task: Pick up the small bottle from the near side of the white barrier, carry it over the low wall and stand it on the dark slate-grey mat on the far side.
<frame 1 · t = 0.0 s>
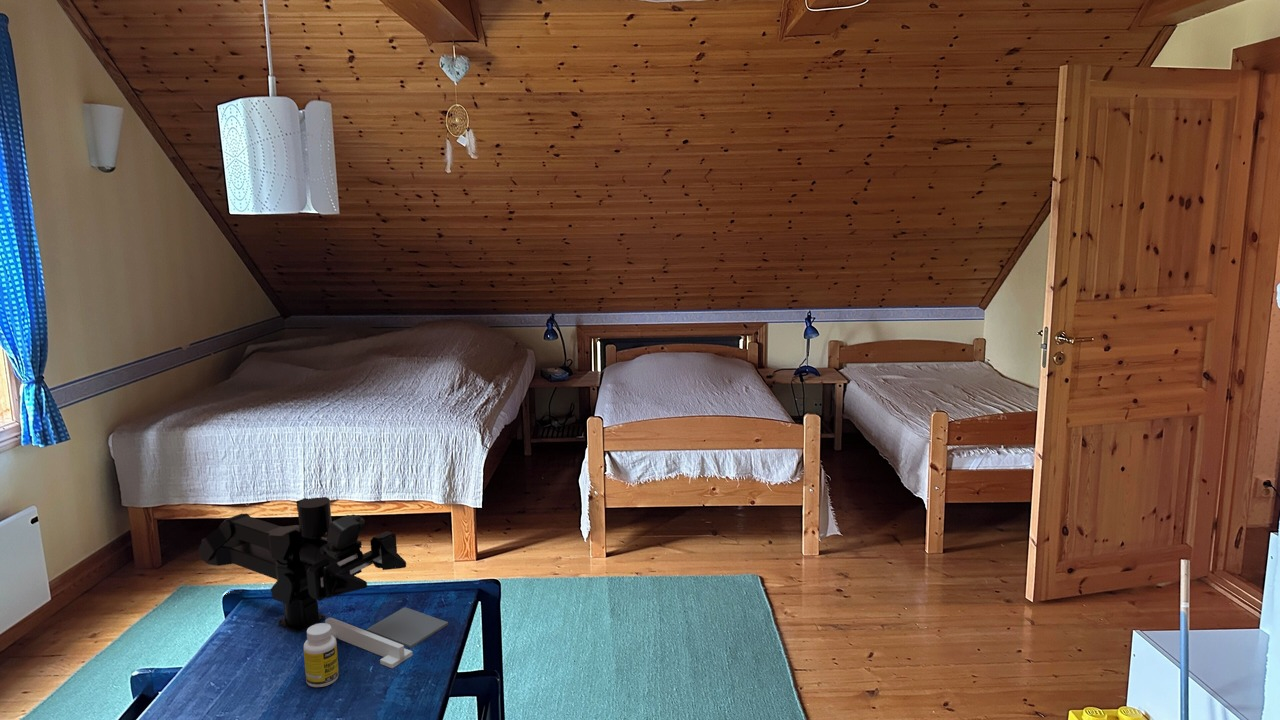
hand: (386, 574, 147), 17 cm above the table, tool horizontal, fingers open, 9 cm apart
slate mat: (407, 627, 161), on the table
white barrier: (364, 646, 154), on the table
supplement bottle: (323, 680, 144), on the table
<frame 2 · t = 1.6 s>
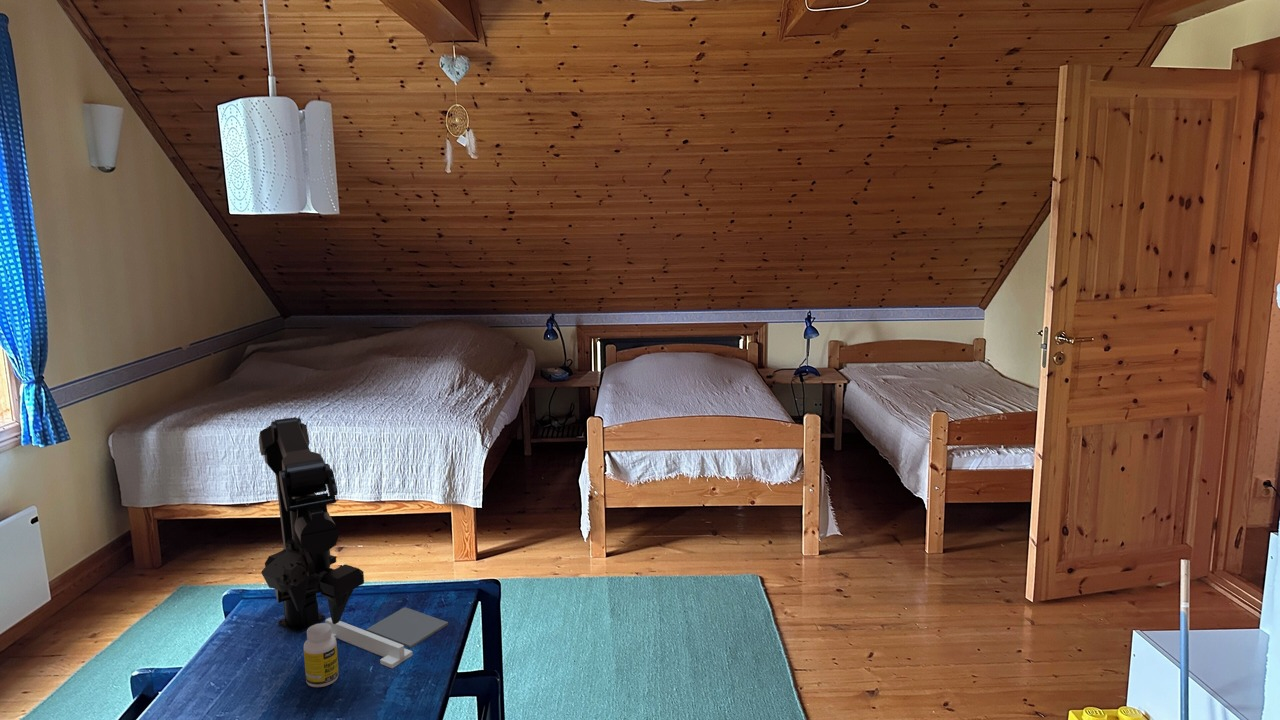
hand: (317, 616, 142), 12 cm above the table, tool pointing down, fingers open, 9 cm apart
nothing on the table moved.
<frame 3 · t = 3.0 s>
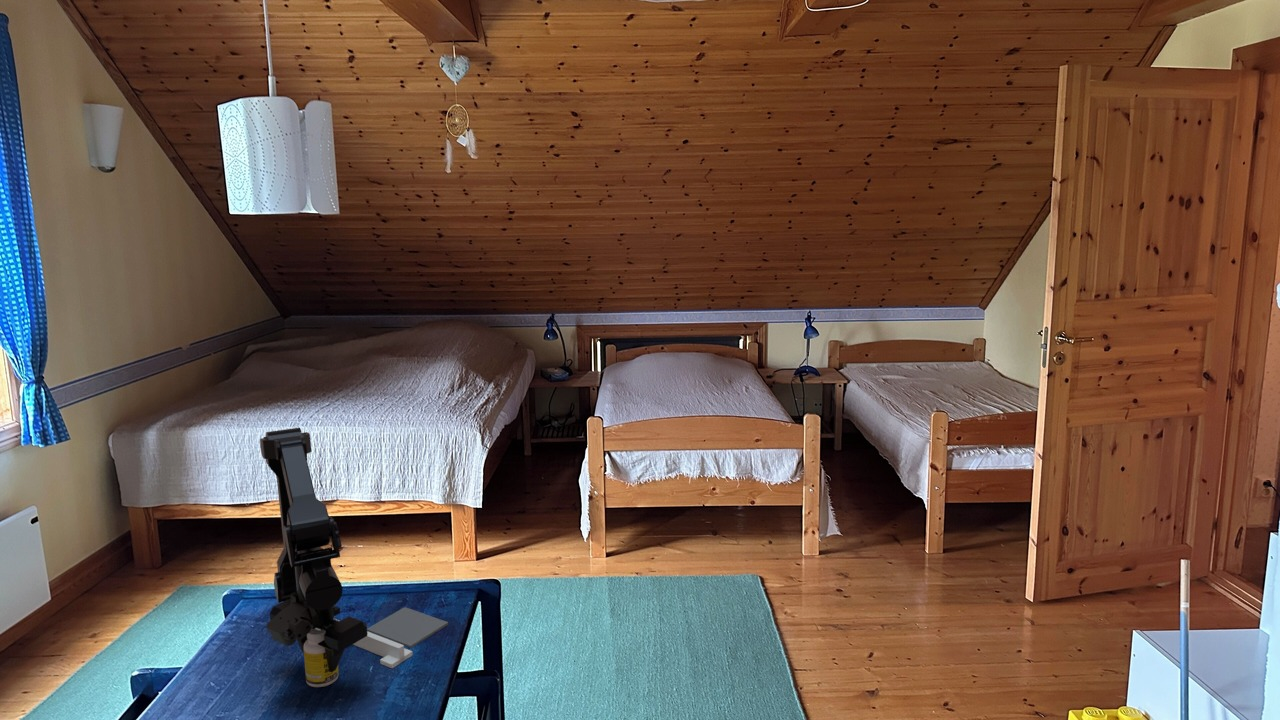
hand: (321, 666, 144), 3 cm above the table, tool pointing down, fingers closed on supplement bottle, 5 cm apart
supplement bottle: (323, 680, 144), on the table, touching gripper
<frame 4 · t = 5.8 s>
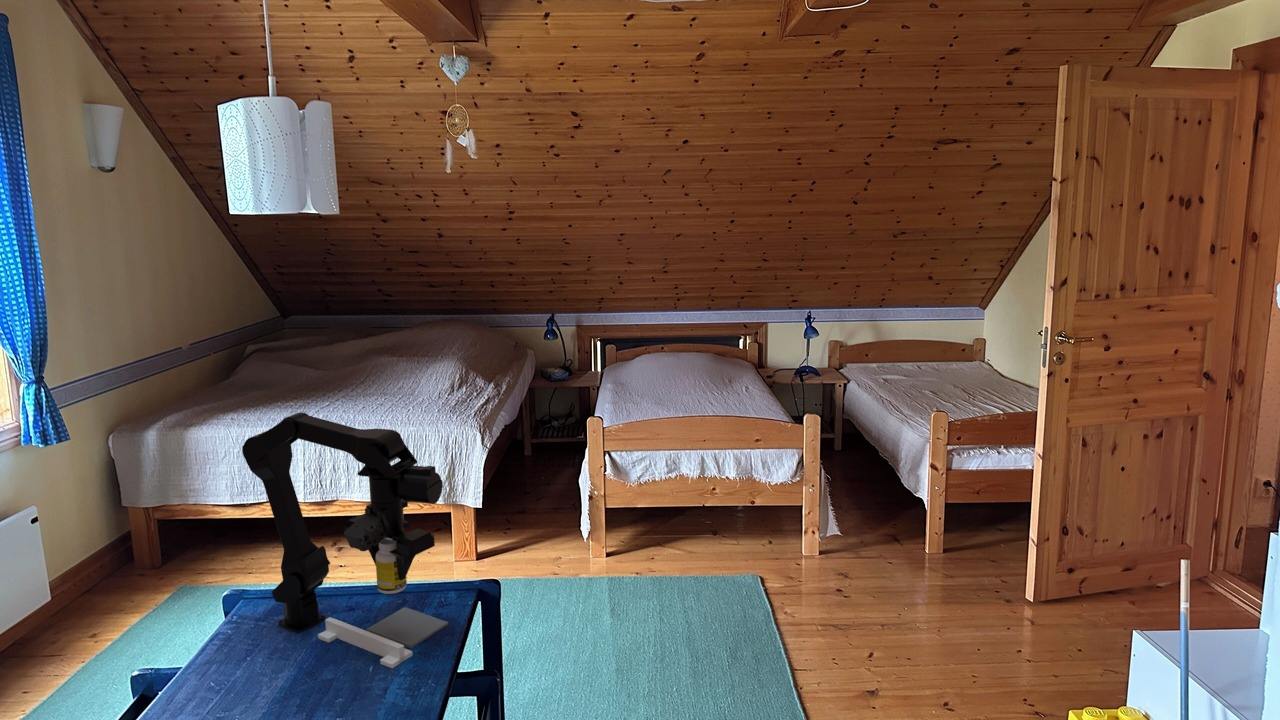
hand: (391, 575, 156), 13 cm above the table, tool pointing down, fingers closed on supplement bottle, 5 cm apart
supplement bottle: (392, 589, 156), point 10 cm above the table, touching gripper
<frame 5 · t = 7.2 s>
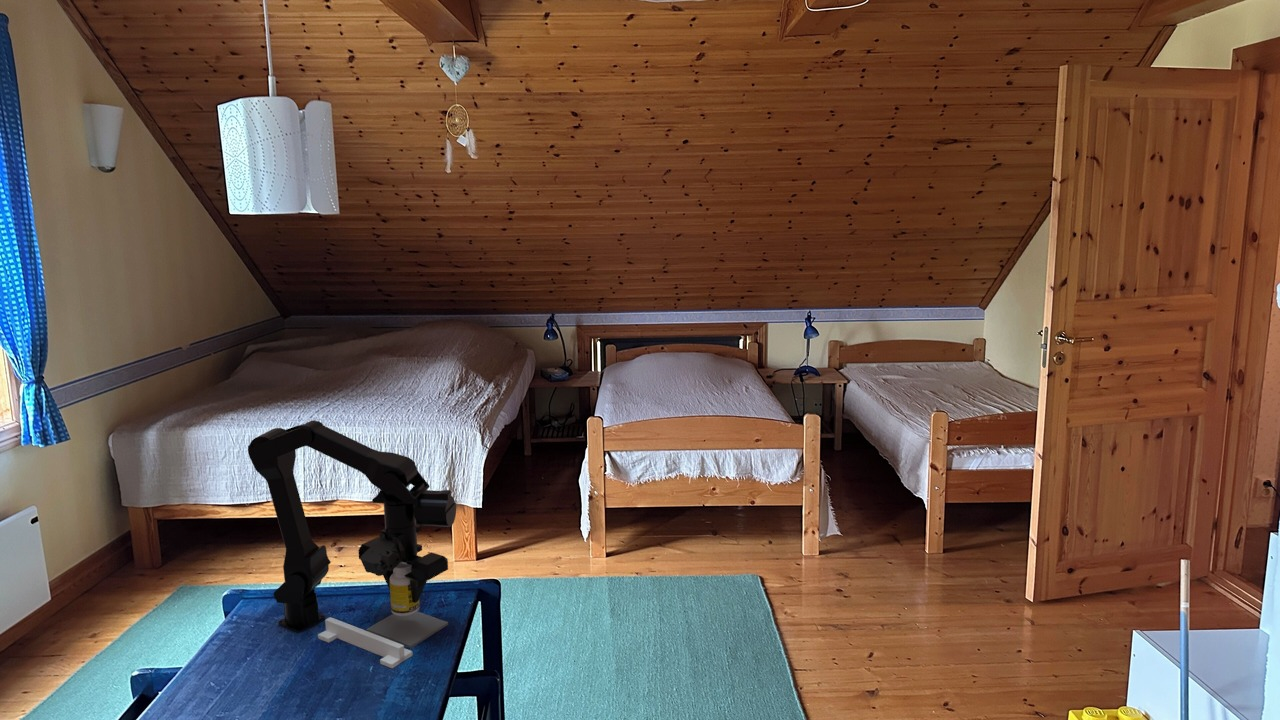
hand: (405, 598, 160), 6 cm above the table, tool pointing down, fingers closed on supplement bottle, 5 cm apart
supplement bottle: (405, 611, 160), point 4 cm above the table, touching gripper
when the fingers open (4 cm above the table, at t = 8.5 s): supplement bottle stays where it is, resting on slate mat.
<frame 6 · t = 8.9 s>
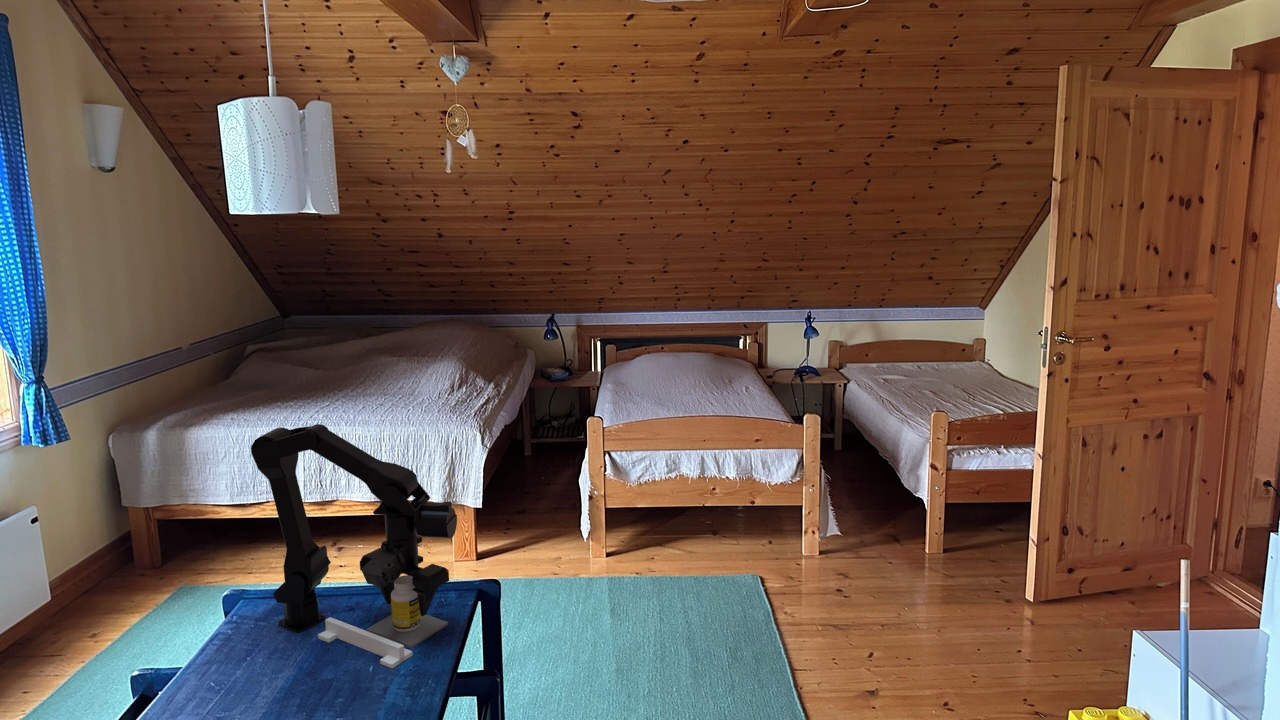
hand: (406, 609, 160), 4 cm above the table, tool pointing down, fingers open, 9 cm apart
supplement bottle: (407, 626, 161), resting on slate mat
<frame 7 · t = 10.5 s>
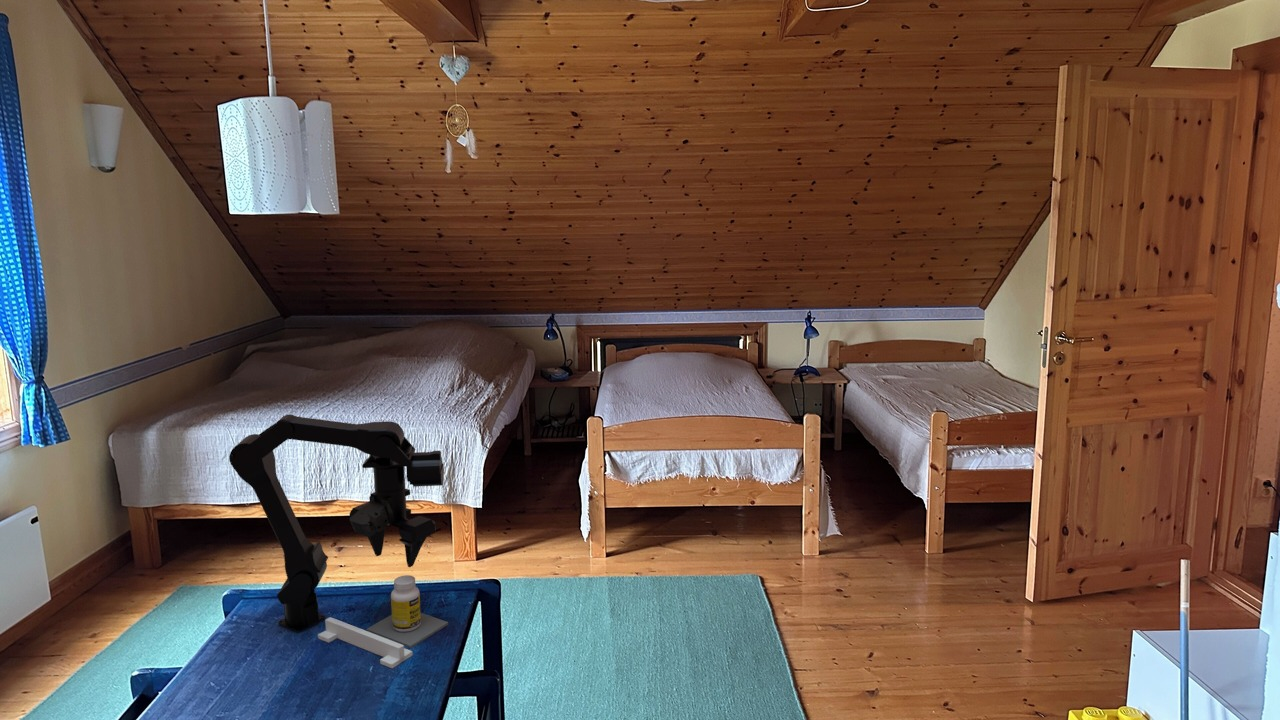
hand: (394, 560, 163), 12 cm above the table, tool pointing down, fingers open, 9 cm apart
nothing on the table moved.
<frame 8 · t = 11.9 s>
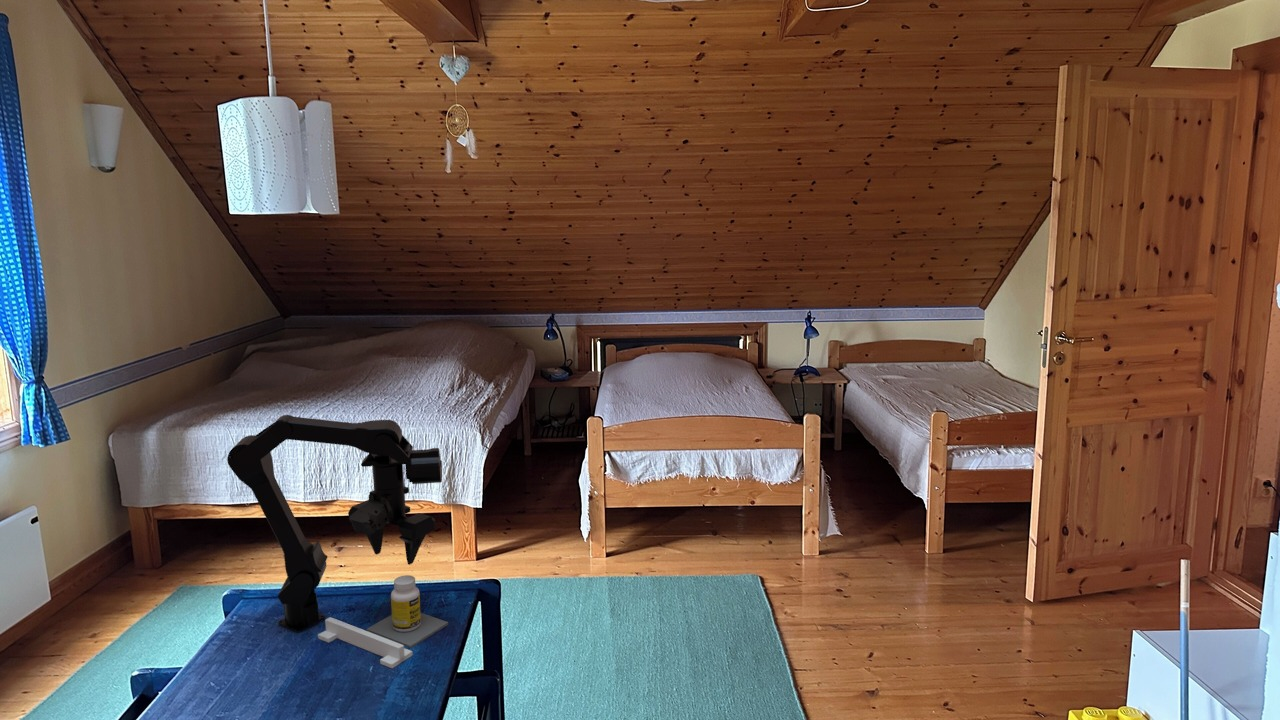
hand: (393, 558, 164), 12 cm above the table, tool pointing down, fingers open, 9 cm apart
nothing on the table moved.
at the end: supplement bottle inside the target area on the slate mat (0.1 cm from its centre), point 0.3 cm above the slate mat's base; supplement bottle tilted 0°; the gripper is holding nothing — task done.
